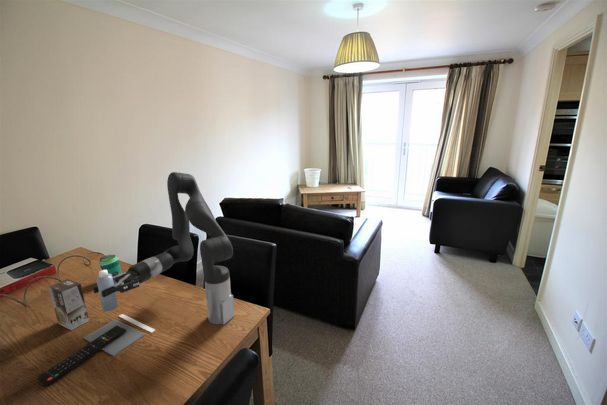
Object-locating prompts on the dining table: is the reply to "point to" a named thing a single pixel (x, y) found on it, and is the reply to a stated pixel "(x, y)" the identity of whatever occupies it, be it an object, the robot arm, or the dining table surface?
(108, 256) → the cup
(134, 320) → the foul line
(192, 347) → the dining table surface
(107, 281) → the slim bottle
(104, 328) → the mat
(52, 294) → the coffee box
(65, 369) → the remote control
